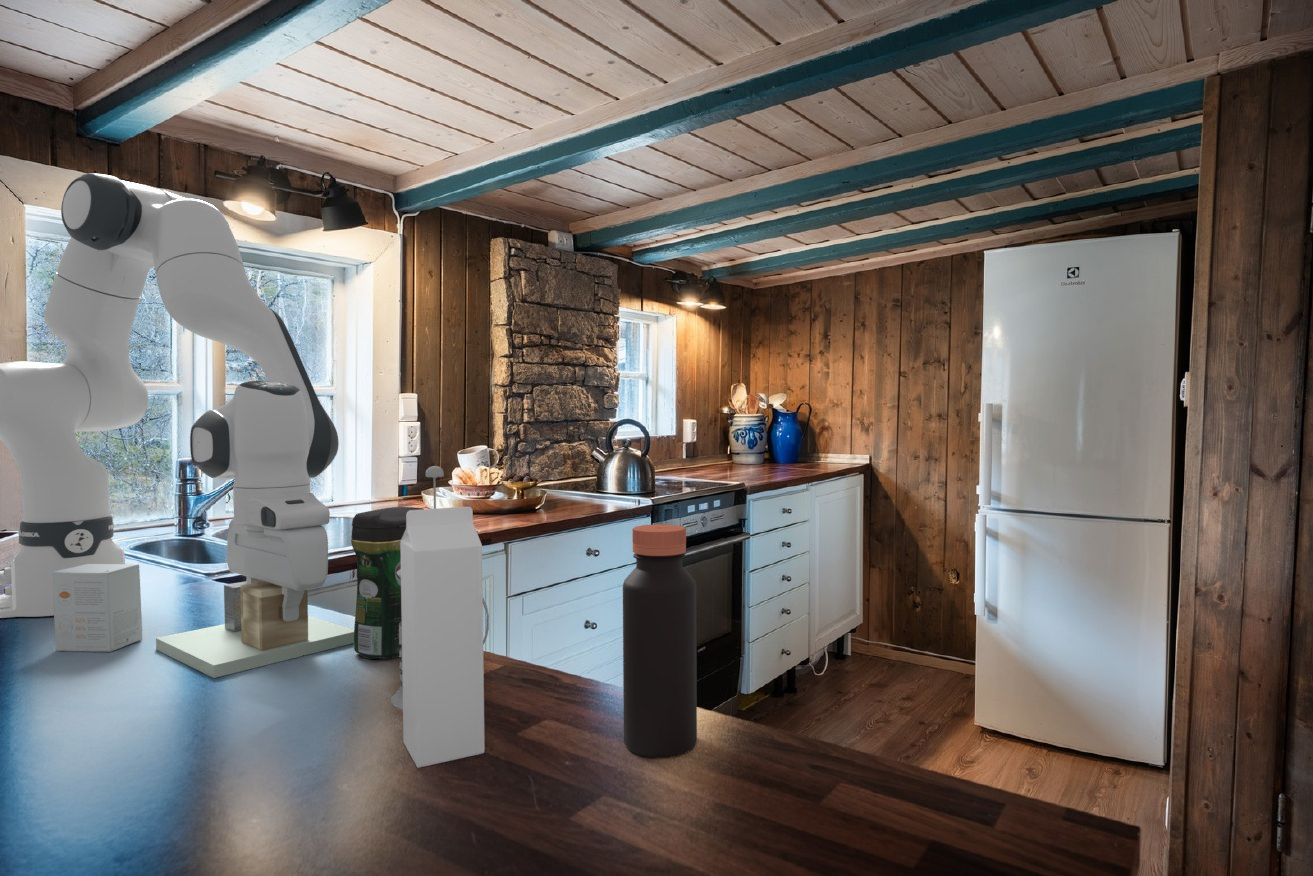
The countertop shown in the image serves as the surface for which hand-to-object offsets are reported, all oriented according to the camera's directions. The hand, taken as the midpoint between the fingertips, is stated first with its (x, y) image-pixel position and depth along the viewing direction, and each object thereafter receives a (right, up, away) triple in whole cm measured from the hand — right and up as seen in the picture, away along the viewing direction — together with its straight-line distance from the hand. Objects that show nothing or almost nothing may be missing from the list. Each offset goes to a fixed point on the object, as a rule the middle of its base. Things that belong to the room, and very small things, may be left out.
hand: (274, 615), depth 99 cm
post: (-8, -5, +6) cm, 11 cm away
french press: (+26, -5, -16) cm, 31 cm away
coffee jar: (+15, -5, +1) cm, 16 cm away
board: (-4, -5, +3) cm, 7 cm away
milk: (+30, -6, -29) cm, 42 cm away
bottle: (+49, -6, -28) cm, 57 cm away
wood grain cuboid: (0, -3, 0) cm, 3 cm away
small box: (-25, -5, +4) cm, 26 cm away
